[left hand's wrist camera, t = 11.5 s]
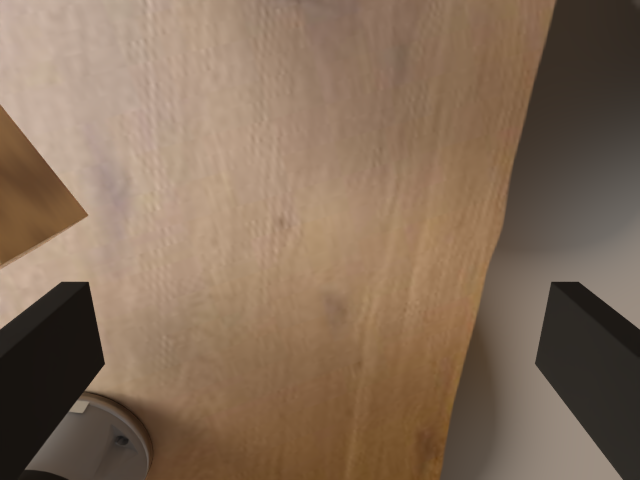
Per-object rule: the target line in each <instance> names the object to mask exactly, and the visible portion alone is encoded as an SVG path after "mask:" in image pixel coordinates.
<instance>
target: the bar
mask: <svg viewBox="0 0 640 480" xmlns="http://www.w3.org/2000/svg"><path fill="white" fill-rule="evenodd" d="M87 216H88V214H87V213H86V212H85V210H84V209H83V208H82V207H81V205H80V204H79V203H78V201H77V200H76V199H75V198H74V196H73V195H72V194H71V193H70V191H69V190H68V189H67V188H66V186H65V185H64V184H63V183H62V181H61V180H60V179H59V178H58V176H57V175H56V174H55V173H54V171H53V170H52V169H51V168H50V166H49V165H48V164H47V163H46V161H45V160H44V159H43V158H42V156H41V155H40V154H39V153H38V151H37V150H36V149H35V148H34V146H33V145H32V144H31V142H30V141H29V140H28V139H27V137H26V136H25V135H24V134H23V132H22V131H21V130H20V129H19V127H18V126H17V125H16V124H15V122H14V121H13V120H12V119H11V117H10V116H9V115H8V114H7V112H6V111H5V110H4V109H3V107H2V106H1V105H0V269H2V268H3V267H5V266H7V265H8V264H10V263H12V262H14V261H15V260H17V259H19V258H21V257H22V256H24V255H26V254H27V253H29V252H31V251H33V250H34V249H36V248H38V247H40V246H41V245H43V244H44V243H46V242H47V241H49V240H51V239H52V238H54V237H55V236H57V235H59V234H60V233H62V232H63V231H65V230H67V229H68V228H70V227H71V226H73V225H74V224H76V223H78V222H79V221H81V220H82V219H84V218H86V217H87Z"/></svg>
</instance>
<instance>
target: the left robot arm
mask: <svg viewBox="0 0 640 480" xmlns="http://www.w3.org/2000/svg"><path fill="white" fill-rule="evenodd" d="M104 364H105V362H104V357H103V352H102V347H101V342H100V337H99V332H98V327H97V322H96V317H95V312H94V307H93V302H92V297H91V292H90V287H89V282H61V283H59V284H58V285H57V286H56V287H54V288H53V289H52V290H50V291H49V292H48V293H47V294H45V295H44V296H43V297H41V298H40V299H39V300H38V301H36V302H35V303H34V304H32V305H31V306H30V307H29V308H27V309H26V310H25V311H23V312H22V313H21V314H20V315H18V316H17V317H16V318H15V319H13V320H12V321H11V322H9V323H8V324H7V325H6V326H4V327H3V328H2V329H0V480H145V478H146V475H147V473H148V471H149V468H150V466H151V463H152V458H153V448H152V443H151V439H150V437H149V434H148V433H147V431H146V429H145V427H144V426H143V424H142V423H141V422H140V421H139V420H138V419H137V418H136V417H135V416H134V415H133V414H132V413H131V412H130V411H129V410H127V409H126V408H124V407H123V406H121V405H120V404H118V403H116V402H114V401H112V400H110V399H107V398H105V397H102V396H99V395H95V394H91V393H85V392H84V391H85V389H86V388H87V387H88V385H89V384H90V383H91V381H92V380H93V379H94V378H95V376H96V375H97V374H98V372H99V371H100V370H101V368H102V367H103V366H104ZM535 364H536V366H537V367H538V368H539V370H540V371H541V372H542V374H543V375H544V376H545V377H546V379H547V380H548V381H549V383H550V384H551V385H552V387H553V388H554V389H555V391H556V392H557V393H558V395H559V396H560V397H561V399H562V400H563V401H564V403H565V404H566V405H567V406H568V408H569V409H570V410H571V412H572V413H573V414H574V416H575V417H576V418H577V420H578V421H579V422H580V424H581V425H582V426H583V428H584V429H585V430H586V432H587V433H588V434H589V435H590V437H591V438H592V439H593V441H594V442H595V443H596V445H597V446H598V447H599V449H600V450H601V451H602V453H603V454H604V455H605V457H606V458H607V459H608V460H609V462H610V463H611V464H612V466H613V467H614V468H615V470H616V471H617V472H618V474H619V475H620V476H621V478H622V479H623V480H640V329H638V328H637V327H636V326H634V325H633V324H632V323H631V322H629V321H628V320H627V319H625V318H624V317H623V316H622V315H620V314H619V313H618V312H616V311H615V310H614V309H613V308H611V307H610V306H609V305H607V304H606V303H605V302H604V301H602V300H601V299H600V298H598V297H597V296H596V295H595V294H593V293H592V292H591V291H589V290H588V289H587V288H586V287H584V286H583V285H582V284H581V283H579V282H551V287H550V292H549V297H548V302H547V307H546V312H545V317H544V322H543V327H542V332H541V337H540V342H539V347H538V352H537V357H536V362H535Z"/></svg>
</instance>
